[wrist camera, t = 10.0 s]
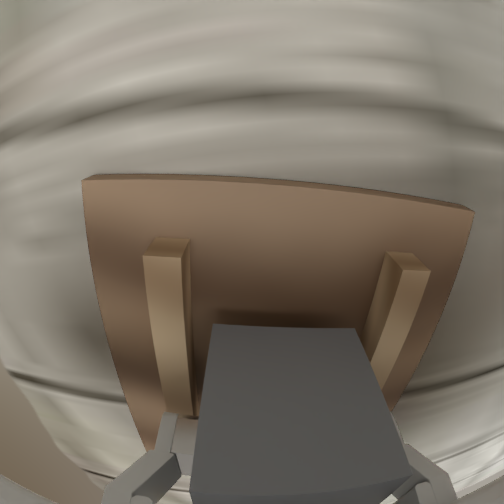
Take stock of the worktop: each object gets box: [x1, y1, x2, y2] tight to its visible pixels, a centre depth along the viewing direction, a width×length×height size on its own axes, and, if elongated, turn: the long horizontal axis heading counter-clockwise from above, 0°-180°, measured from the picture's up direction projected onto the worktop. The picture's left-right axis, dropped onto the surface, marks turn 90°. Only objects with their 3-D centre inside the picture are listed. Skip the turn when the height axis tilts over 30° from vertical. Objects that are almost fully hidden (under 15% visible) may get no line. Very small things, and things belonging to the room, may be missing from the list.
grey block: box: [189, 324, 413, 504], centre depth 9 cm, size 6×5×6 cm
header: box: [82, 174, 475, 452], centre depth 11 cm, size 20×15×8 cm
